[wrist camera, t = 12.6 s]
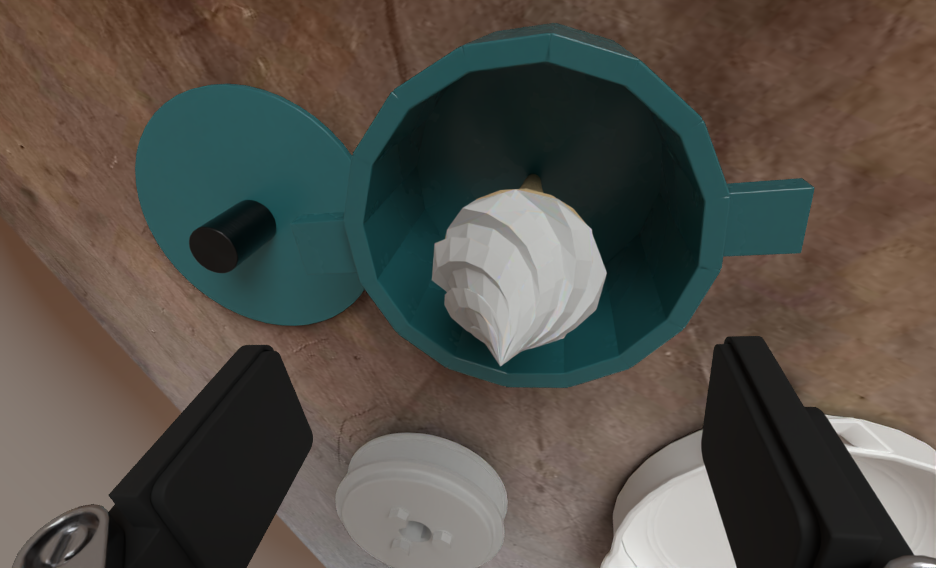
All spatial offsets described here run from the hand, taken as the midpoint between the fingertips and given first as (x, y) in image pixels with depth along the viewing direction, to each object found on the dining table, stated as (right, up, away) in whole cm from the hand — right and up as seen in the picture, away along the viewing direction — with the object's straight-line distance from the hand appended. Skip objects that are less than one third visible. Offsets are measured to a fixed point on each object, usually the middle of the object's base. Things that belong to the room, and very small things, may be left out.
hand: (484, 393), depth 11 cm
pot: (+3, +8, +14) cm, 17 cm away
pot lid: (-12, +6, +18) cm, 23 cm away
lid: (-3, -13, +28) cm, 31 cm away
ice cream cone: (+3, +8, +14) cm, 17 cm away
